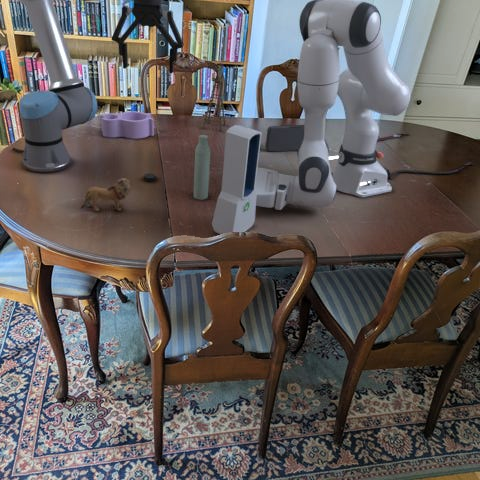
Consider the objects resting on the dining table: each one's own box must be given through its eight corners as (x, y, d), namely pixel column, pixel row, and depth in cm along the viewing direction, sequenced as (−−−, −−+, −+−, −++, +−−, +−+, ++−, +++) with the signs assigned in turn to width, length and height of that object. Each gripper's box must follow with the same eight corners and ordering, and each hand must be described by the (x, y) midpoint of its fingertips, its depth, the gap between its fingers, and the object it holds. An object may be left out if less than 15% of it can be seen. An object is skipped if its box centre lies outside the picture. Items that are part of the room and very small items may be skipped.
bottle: (204, 192, 153) (207, 133, 142) (210, 198, 149) (213, 138, 139) (191, 194, 151) (193, 134, 140) (196, 200, 148) (199, 139, 137)
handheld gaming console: (315, 147, 196) (319, 124, 190) (317, 149, 194) (322, 126, 188) (264, 149, 189) (267, 125, 183) (266, 152, 187) (269, 127, 181)
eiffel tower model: (220, 131, 201) (226, 58, 185) (202, 128, 202) (205, 55, 186) (225, 124, 209) (231, 54, 193) (207, 122, 210) (211, 51, 194)
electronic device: (232, 242, 129) (242, 138, 113) (210, 232, 132) (217, 130, 116) (255, 224, 138) (267, 126, 122) (233, 216, 141) (243, 119, 125)
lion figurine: (130, 201, 143) (129, 174, 138) (133, 209, 139) (132, 182, 134) (79, 205, 138) (76, 178, 133) (81, 214, 134) (78, 186, 129)
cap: (143, 177, 158) (143, 173, 157) (154, 176, 159) (154, 172, 158) (145, 182, 155) (144, 178, 154) (156, 181, 156) (156, 177, 155)
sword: (406, 132, 223) (406, 130, 222) (411, 134, 221) (412, 132, 220) (362, 144, 207) (363, 141, 206) (368, 146, 205) (368, 143, 204)
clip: (103, 139, 182) (102, 122, 178) (101, 128, 192) (100, 111, 188) (155, 138, 188) (155, 121, 184) (150, 127, 198) (149, 111, 194)
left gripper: (97, -15, 123) (102, 68, 134) (191, -5, 123) (188, 77, 135) (105, -18, 129) (109, 62, 141) (194, -8, 130) (192, 71, 141)
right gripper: (285, 166, 153) (243, 160, 153) (283, 194, 135) (235, 187, 136) (282, 183, 156) (241, 178, 157) (280, 212, 139) (234, 206, 140)
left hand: (148, 70), depth 138 cm, fingers open, 13 cm apart
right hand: (238, 182), depth 146 cm, fingers open, 8 cm apart
